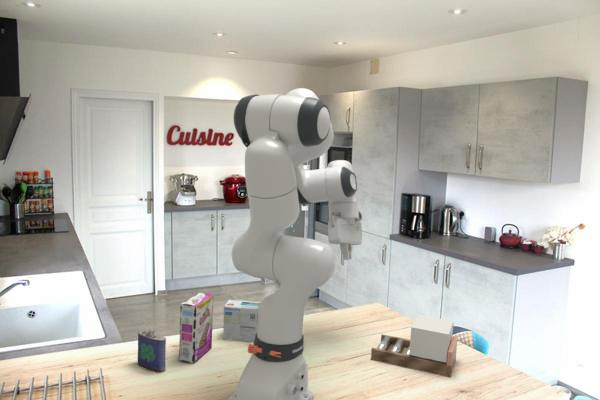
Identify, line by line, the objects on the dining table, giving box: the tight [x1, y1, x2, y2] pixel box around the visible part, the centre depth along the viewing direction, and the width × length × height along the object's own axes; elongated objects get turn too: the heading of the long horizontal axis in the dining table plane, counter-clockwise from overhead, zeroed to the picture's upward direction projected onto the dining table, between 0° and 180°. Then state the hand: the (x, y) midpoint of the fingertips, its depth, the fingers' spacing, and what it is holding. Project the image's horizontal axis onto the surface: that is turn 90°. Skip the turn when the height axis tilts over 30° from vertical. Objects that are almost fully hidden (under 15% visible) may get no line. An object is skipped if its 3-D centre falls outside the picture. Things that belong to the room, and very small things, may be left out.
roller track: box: [370, 334, 459, 378], centre depth 144 cm, size 22×12×7 cm, turn 66°
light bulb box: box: [222, 299, 261, 343], centre depth 154 cm, size 11×7×11 cm, turn 84°
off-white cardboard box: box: [409, 314, 455, 363], centre depth 141 cm, size 10×11×8 cm
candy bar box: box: [178, 292, 214, 365], centre depth 140 cm, size 11×5×16 cm, turn 164°
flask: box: [137, 328, 167, 373], centre depth 132 cm, size 9×3×11 cm, turn 61°
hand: (347, 259), depth 150 cm, fingers closed
